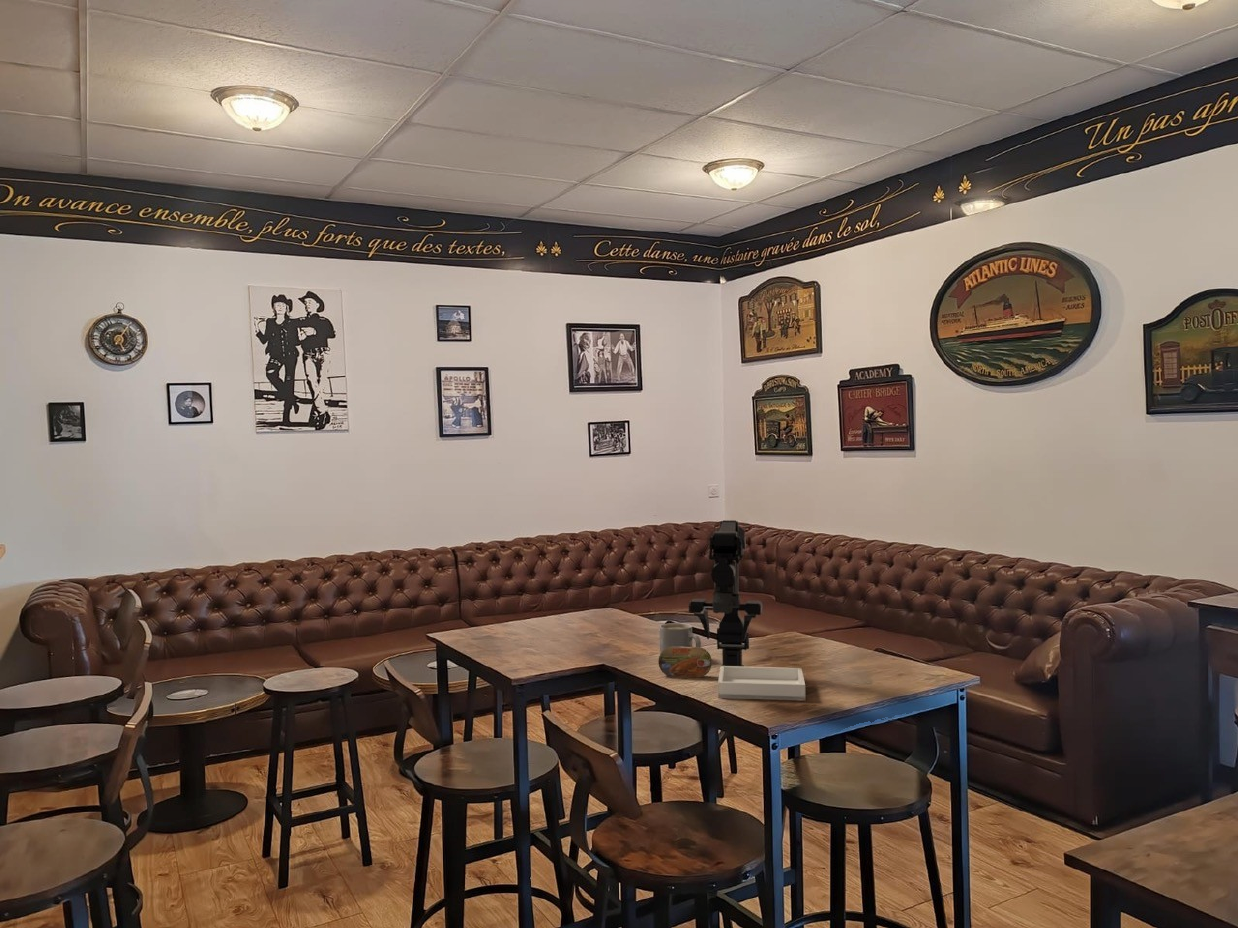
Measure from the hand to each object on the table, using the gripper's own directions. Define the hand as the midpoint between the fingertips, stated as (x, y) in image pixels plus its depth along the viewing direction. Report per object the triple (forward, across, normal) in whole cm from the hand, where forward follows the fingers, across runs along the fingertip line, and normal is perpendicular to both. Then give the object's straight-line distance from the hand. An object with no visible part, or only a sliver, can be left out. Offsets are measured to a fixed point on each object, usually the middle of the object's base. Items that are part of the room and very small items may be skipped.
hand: (725, 639), depth 236 cm
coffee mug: (+15, -19, +36) cm, 43 cm away
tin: (+15, -14, +16) cm, 26 cm away
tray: (+14, +9, +5) cm, 17 cm away
